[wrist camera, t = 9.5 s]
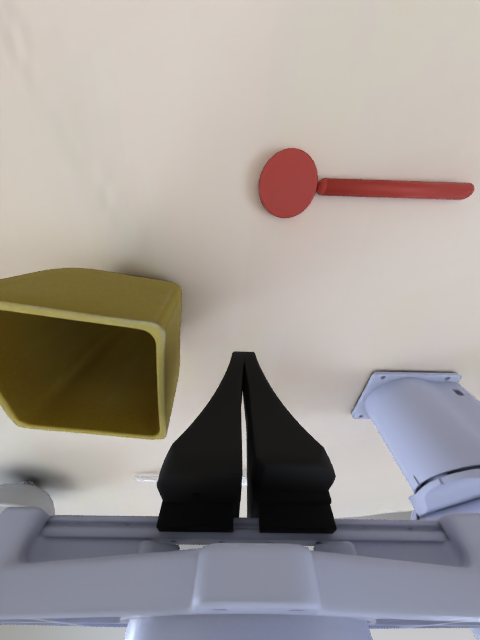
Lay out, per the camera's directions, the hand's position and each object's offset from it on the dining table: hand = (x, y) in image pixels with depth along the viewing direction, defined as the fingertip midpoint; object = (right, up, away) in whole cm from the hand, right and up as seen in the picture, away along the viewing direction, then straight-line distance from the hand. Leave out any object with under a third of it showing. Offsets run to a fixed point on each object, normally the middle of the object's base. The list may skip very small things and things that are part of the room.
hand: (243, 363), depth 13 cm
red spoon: (+7, +11, 0) cm, 13 cm away
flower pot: (-8, +4, +5) cm, 11 cm away
